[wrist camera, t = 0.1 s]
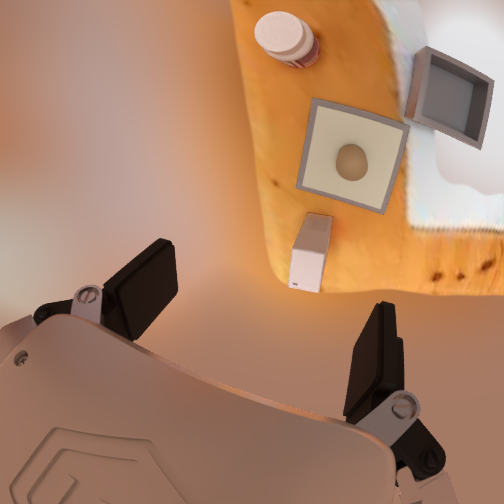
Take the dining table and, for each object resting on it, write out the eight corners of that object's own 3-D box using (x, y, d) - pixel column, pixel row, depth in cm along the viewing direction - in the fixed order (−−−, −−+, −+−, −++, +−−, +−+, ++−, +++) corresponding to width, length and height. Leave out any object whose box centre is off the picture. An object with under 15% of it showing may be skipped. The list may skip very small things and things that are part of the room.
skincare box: (329, 249, 44) (318, 294, 34) (304, 244, 45) (286, 288, 36) (334, 215, 41) (325, 254, 31) (307, 211, 42) (290, 248, 32)
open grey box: (415, 53, 24) (425, 45, 19) (476, 82, 22) (494, 80, 17) (404, 116, 30) (413, 118, 25) (464, 142, 27) (480, 150, 23)
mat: (313, 97, 33) (312, 97, 33) (409, 125, 30) (410, 126, 30) (296, 187, 41) (295, 188, 40) (383, 213, 38) (383, 214, 37)
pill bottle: (318, 29, 27) (304, 3, 18) (323, 68, 30) (311, 53, 21) (275, 33, 29) (246, 11, 20) (280, 70, 32) (252, 59, 23)
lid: (318, 105, 33) (312, 105, 28) (402, 130, 30) (410, 134, 26) (303, 183, 40) (295, 196, 35) (379, 206, 37) (383, 223, 32)
